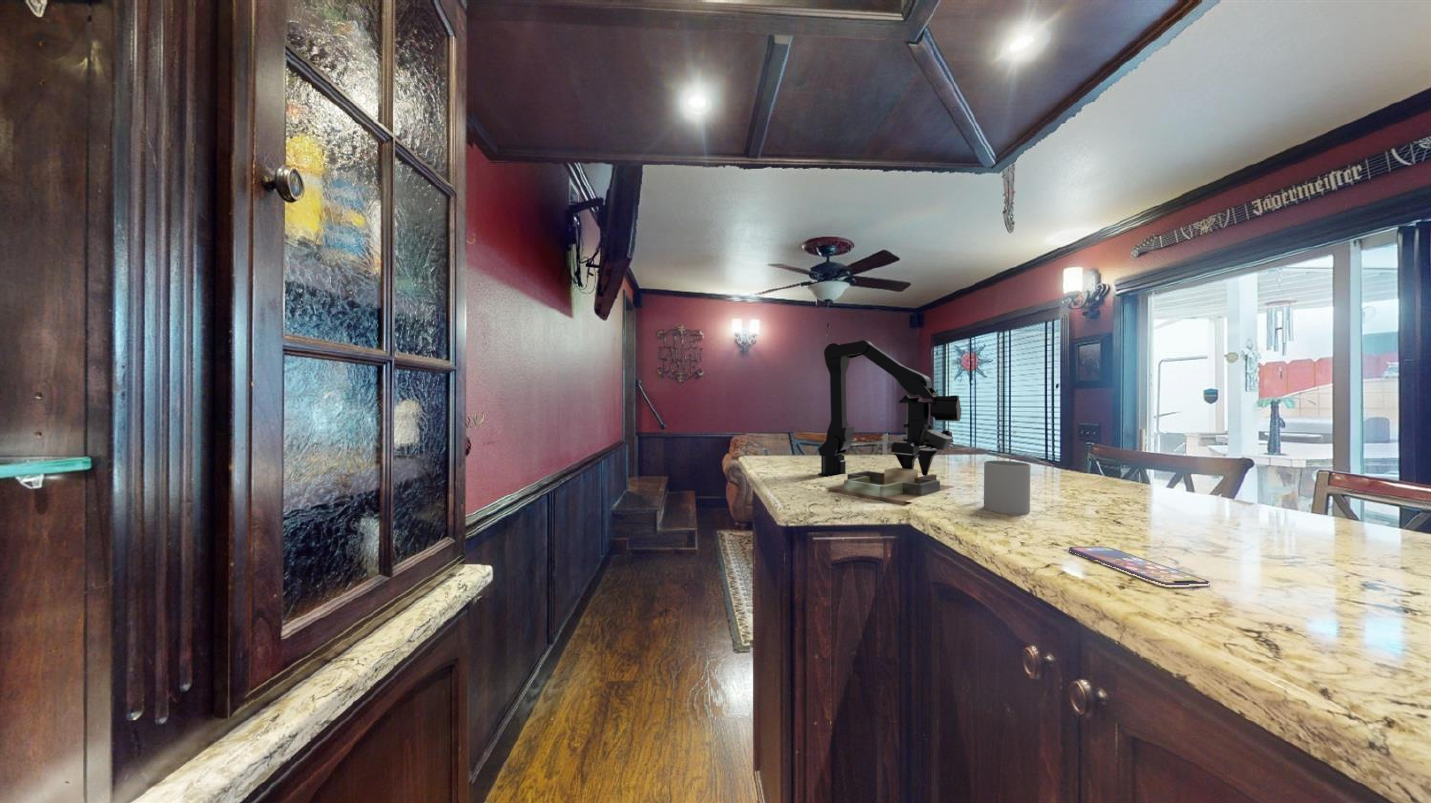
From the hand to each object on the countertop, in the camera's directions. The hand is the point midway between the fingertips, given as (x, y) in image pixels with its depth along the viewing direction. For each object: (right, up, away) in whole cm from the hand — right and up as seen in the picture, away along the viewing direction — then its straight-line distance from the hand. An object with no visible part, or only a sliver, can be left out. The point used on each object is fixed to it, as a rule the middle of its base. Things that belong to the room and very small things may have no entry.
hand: (917, 477), depth 131 cm
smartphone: (+5, -4, -62) cm, 62 cm away
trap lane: (-10, -2, -9) cm, 14 cm away
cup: (+7, -3, -28) cm, 29 cm away
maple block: (-7, -1, -6) cm, 9 cm away
